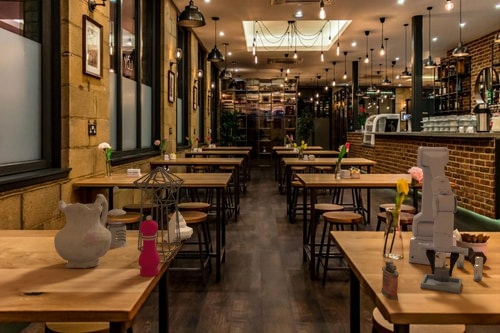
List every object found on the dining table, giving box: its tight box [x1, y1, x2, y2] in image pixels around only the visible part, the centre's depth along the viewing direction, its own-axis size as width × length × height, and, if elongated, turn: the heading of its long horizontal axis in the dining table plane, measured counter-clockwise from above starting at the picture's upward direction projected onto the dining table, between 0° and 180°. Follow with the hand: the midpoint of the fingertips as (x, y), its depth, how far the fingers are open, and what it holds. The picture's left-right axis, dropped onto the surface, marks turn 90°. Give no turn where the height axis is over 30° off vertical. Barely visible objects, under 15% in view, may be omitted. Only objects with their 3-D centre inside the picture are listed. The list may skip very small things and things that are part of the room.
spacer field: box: [435, 252, 484, 282], centre depth 160 cm, size 14×15×5 cm
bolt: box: [463, 246, 488, 266], centre depth 177 cm, size 6×5×15 cm
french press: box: [104, 186, 129, 249], centre depth 194 cm, size 10×12×25 cm
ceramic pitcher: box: [53, 193, 112, 269], centre depth 168 cm, size 22×20×25 cm
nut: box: [433, 266, 450, 282], centre depth 146 cm, size 4×5×4 cm
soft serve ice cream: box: [163, 210, 194, 243], centre depth 205 cm, size 12×15×14 cm
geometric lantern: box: [132, 166, 186, 264], centre depth 173 cm, size 16×16×35 cm
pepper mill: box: [138, 215, 161, 278], centre depth 156 cm, size 7×7×20 cm
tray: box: [420, 273, 462, 295], centre depth 147 cm, size 11×11×2 cm
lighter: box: [381, 260, 399, 301], centre depth 137 cm, size 8×3×10 cm, turn 5°
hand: (441, 274), depth 146 cm, fingers closed on nut, 4 cm apart
